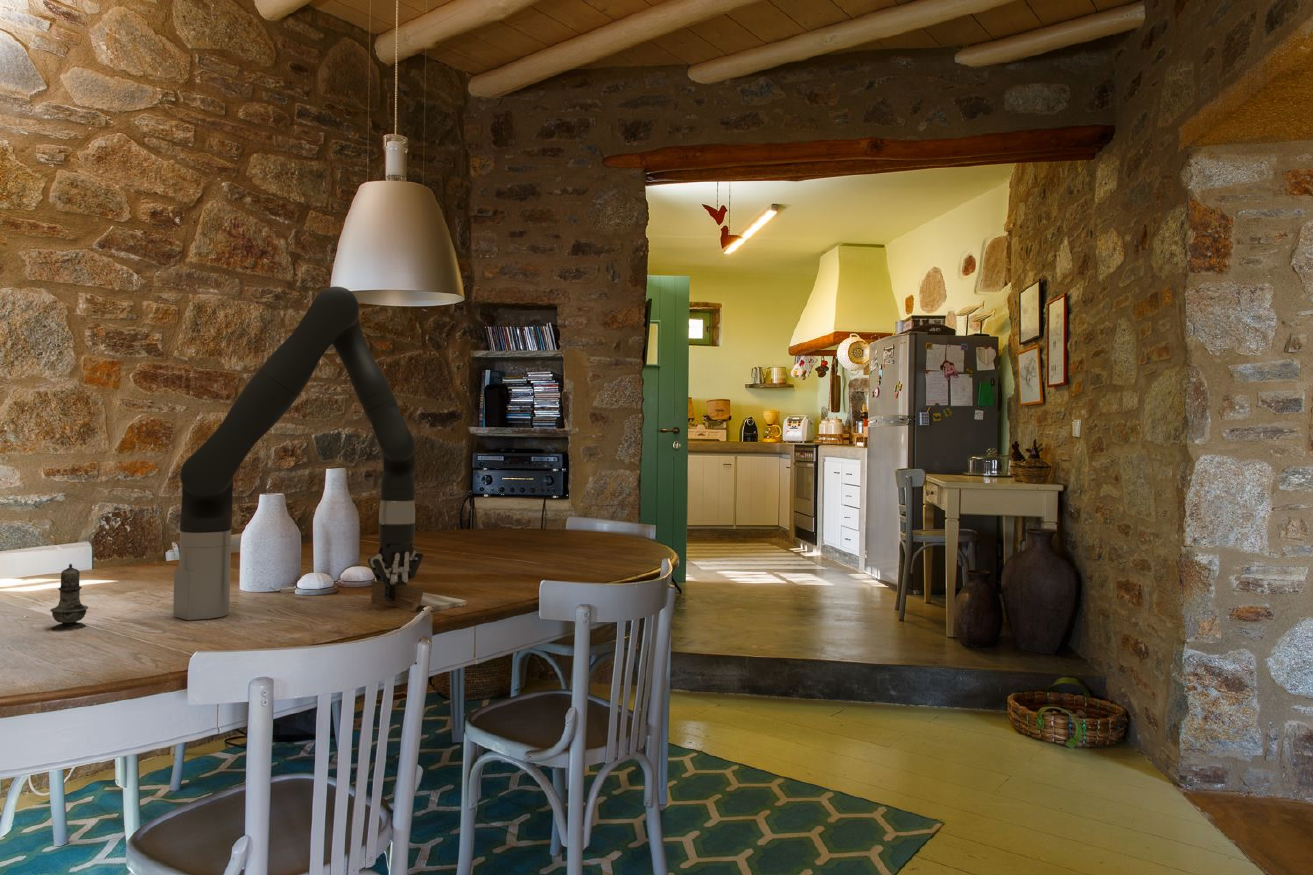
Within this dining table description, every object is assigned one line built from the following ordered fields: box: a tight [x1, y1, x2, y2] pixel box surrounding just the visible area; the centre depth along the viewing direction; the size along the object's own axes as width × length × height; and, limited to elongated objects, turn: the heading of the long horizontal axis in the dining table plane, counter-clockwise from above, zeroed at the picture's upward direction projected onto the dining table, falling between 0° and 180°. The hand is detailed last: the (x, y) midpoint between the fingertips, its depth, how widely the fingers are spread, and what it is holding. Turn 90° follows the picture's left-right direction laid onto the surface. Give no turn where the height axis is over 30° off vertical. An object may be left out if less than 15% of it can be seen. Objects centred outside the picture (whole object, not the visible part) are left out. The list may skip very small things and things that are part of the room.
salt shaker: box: [49, 563, 89, 632], centre depth 160 cm, size 6×6×12 cm
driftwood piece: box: [370, 581, 424, 613], centre depth 186 cm, size 15×2×5 cm, turn 59°
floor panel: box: [370, 592, 468, 612], centre depth 192 cm, size 10×20×1 cm, turn 56°
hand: (395, 600), depth 187 cm, fingers closed
